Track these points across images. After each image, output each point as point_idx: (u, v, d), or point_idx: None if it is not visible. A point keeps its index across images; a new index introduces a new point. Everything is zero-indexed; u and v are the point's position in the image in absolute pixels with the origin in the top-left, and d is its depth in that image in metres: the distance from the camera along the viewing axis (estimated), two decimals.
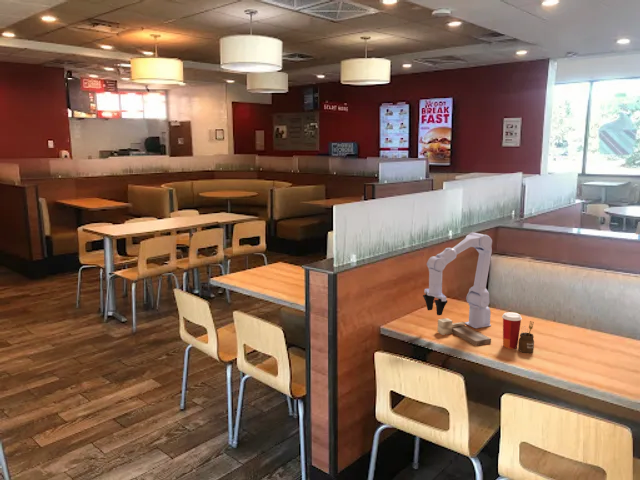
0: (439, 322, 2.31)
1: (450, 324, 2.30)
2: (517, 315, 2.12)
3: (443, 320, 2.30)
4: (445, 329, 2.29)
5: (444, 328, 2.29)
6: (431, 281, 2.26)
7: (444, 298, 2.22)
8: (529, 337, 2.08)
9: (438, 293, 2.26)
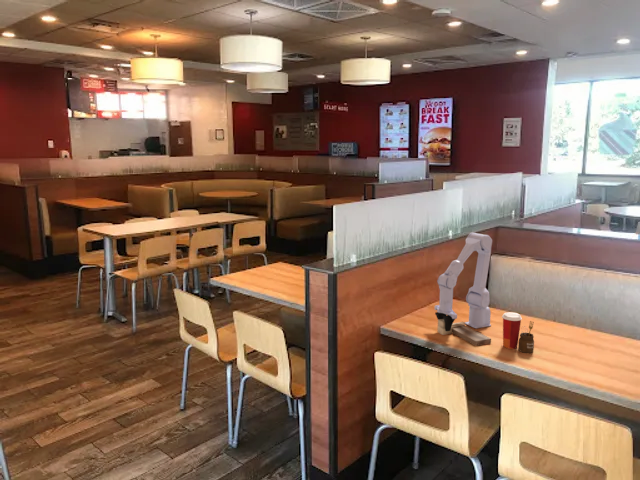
0: (439, 322, 2.31)
1: None
2: (517, 315, 2.12)
3: (443, 320, 2.30)
4: None
5: (444, 328, 2.29)
6: (442, 298, 2.27)
7: (455, 316, 2.23)
8: (529, 337, 2.08)
9: (449, 310, 2.27)
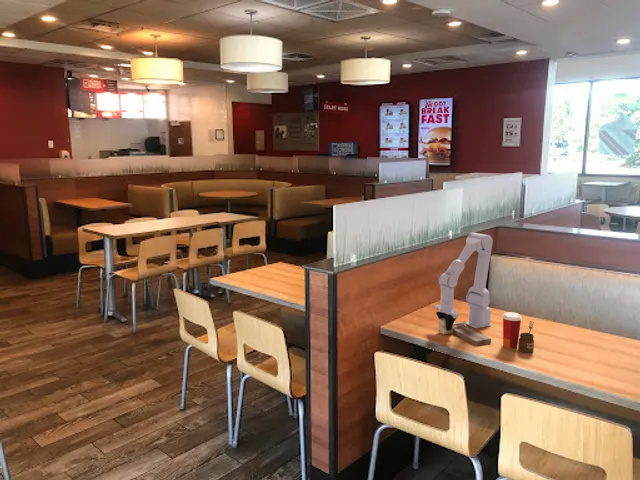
0: (440, 321, 2.30)
1: None
2: (517, 315, 2.12)
3: (444, 319, 2.30)
4: None
5: (445, 327, 2.28)
6: (443, 298, 2.26)
7: (456, 315, 2.23)
8: (529, 337, 2.08)
9: (450, 310, 2.27)
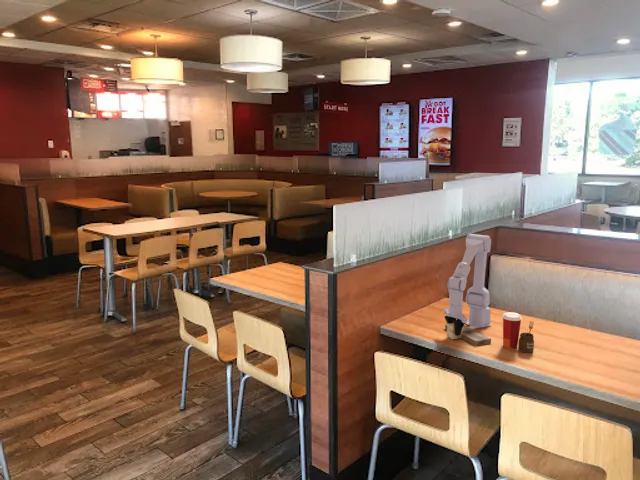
0: (449, 326, 2.24)
1: None
2: (517, 315, 2.12)
3: (453, 324, 2.24)
4: (454, 333, 2.22)
5: (453, 332, 2.22)
6: (454, 302, 2.20)
7: (465, 319, 2.17)
8: (529, 337, 2.08)
9: (458, 314, 2.21)
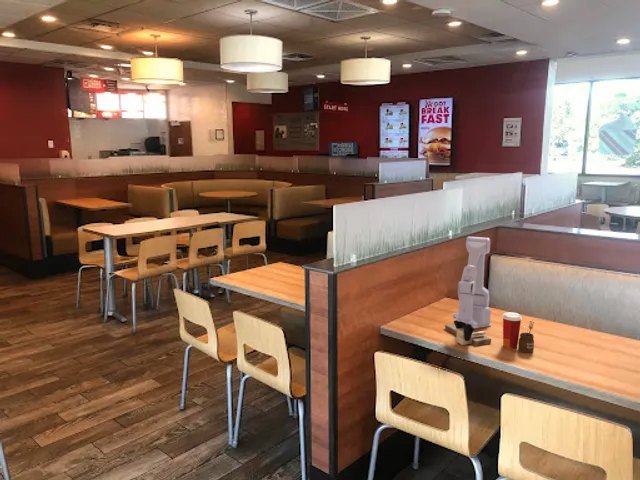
0: (458, 331, 2.18)
1: None
2: (517, 315, 2.12)
3: (462, 329, 2.18)
4: (464, 338, 2.16)
5: (463, 338, 2.16)
6: (465, 307, 2.13)
7: (475, 324, 2.11)
8: (529, 337, 2.08)
9: (468, 319, 2.14)
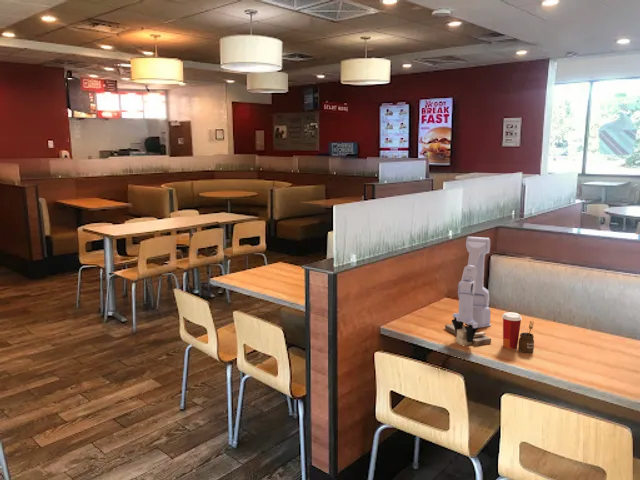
0: (458, 332, 2.18)
1: None
2: (517, 315, 2.12)
3: (462, 330, 2.18)
4: (464, 339, 2.16)
5: (463, 339, 2.16)
6: (465, 307, 2.13)
7: (475, 325, 2.11)
8: (529, 337, 2.08)
9: (468, 319, 2.14)
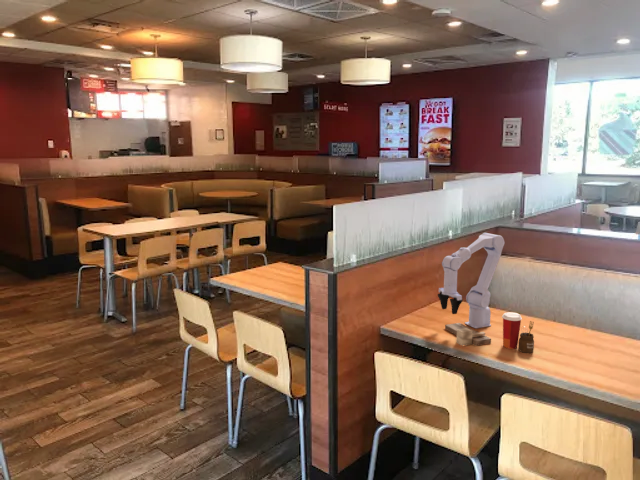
0: (458, 332, 2.18)
1: (470, 334, 2.17)
2: (517, 315, 2.12)
3: (462, 330, 2.18)
4: (464, 339, 2.16)
5: (463, 339, 2.16)
6: (446, 280, 2.28)
7: (460, 297, 2.24)
8: (529, 337, 2.08)
9: (453, 292, 2.28)
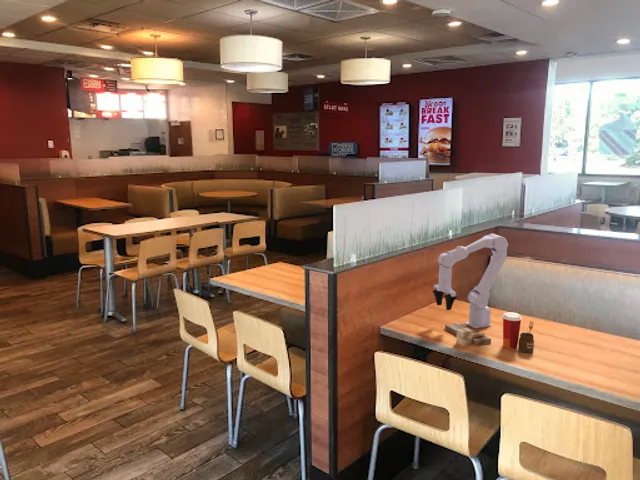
0: (458, 332, 2.18)
1: (470, 334, 2.17)
2: (517, 315, 2.12)
3: (462, 330, 2.18)
4: (464, 339, 2.16)
5: (463, 338, 2.16)
6: (440, 276, 2.34)
7: (453, 293, 2.30)
8: (529, 337, 2.08)
9: (447, 288, 2.34)
